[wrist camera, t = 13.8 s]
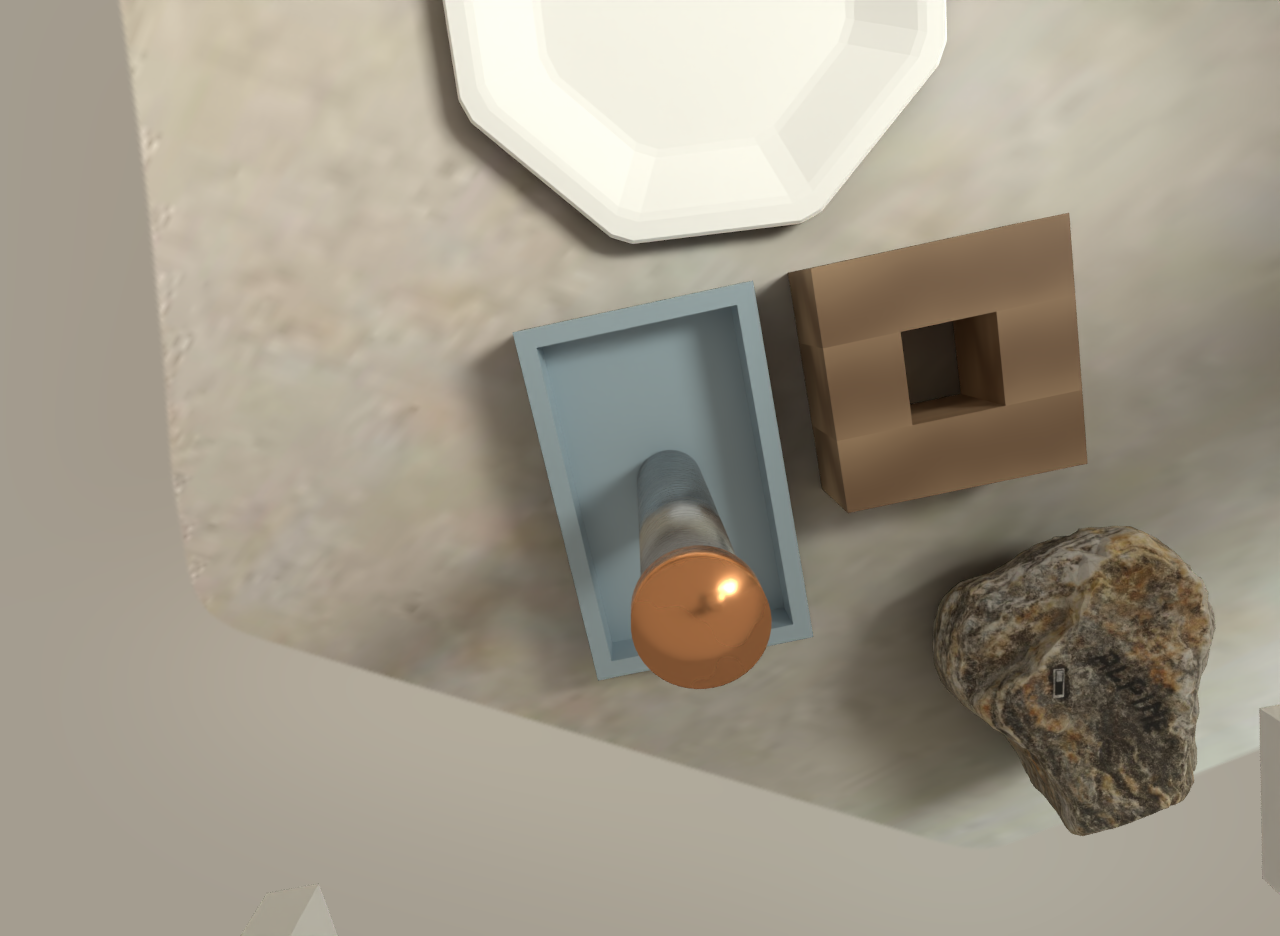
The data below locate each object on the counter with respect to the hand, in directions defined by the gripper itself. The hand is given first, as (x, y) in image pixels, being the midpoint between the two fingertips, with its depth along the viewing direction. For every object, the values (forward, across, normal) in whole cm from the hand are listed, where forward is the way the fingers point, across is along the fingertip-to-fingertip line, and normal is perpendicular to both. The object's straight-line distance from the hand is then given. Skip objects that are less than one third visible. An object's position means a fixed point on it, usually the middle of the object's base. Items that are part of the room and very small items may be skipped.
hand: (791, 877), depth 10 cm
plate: (+25, +4, +20) cm, 32 cm away
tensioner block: (+24, +11, +3) cm, 27 cm away
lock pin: (+24, -1, 0) cm, 24 cm away
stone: (+25, +16, -12) cm, 31 cm away
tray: (+24, -1, 0) cm, 24 cm away
